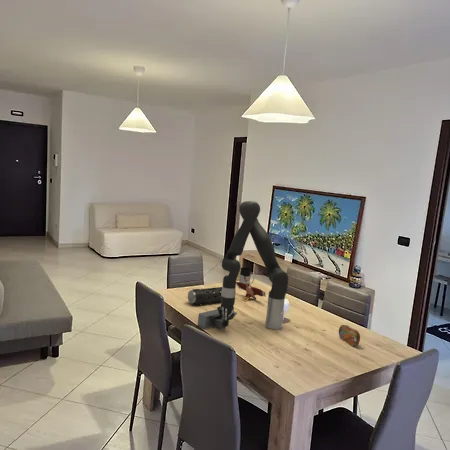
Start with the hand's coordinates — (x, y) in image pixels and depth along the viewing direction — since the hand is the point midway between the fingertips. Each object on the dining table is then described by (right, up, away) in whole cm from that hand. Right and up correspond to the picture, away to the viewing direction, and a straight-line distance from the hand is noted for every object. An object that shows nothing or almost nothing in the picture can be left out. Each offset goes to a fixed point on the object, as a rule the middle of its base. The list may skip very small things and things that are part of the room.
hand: (225, 326), depth 222 cm
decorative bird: (+16, +3, +58) cm, 60 cm away
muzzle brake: (-11, +4, +44) cm, 45 cm away
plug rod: (-6, -1, +7) cm, 10 cm away
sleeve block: (-7, -1, +7) cm, 10 cm away
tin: (+66, -8, -2) cm, 66 cm away
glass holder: (+16, +7, +86) cm, 87 cm away
